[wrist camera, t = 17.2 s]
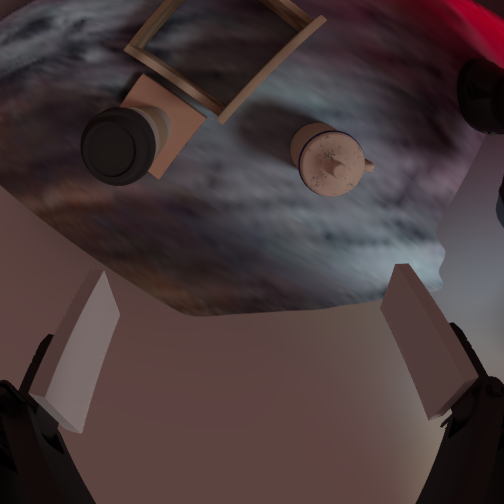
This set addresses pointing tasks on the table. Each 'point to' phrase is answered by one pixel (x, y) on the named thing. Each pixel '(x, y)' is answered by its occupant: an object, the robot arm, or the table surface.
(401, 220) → the table surface
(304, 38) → the frame
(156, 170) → the terracotta tile
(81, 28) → the table surface
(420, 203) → the table surface
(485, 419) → the robot arm
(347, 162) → the teacup with lid
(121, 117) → the coffee cup
